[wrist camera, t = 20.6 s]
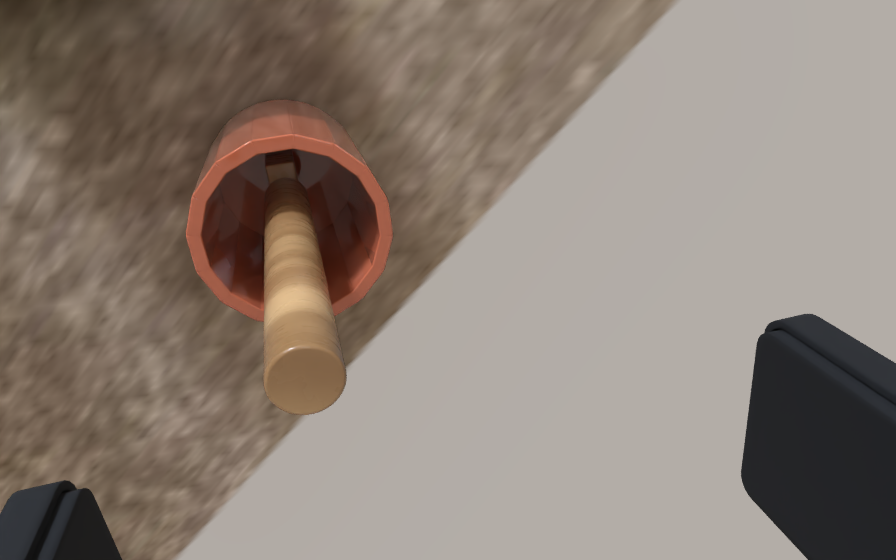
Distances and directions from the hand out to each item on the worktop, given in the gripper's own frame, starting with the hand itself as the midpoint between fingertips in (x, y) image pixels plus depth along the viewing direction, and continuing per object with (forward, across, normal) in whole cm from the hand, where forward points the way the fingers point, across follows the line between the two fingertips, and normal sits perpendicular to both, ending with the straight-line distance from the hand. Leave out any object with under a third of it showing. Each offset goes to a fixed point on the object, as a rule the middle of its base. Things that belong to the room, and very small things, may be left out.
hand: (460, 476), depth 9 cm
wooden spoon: (+24, +3, +2) cm, 24 cm away
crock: (+24, +2, +2) cm, 24 cm away
